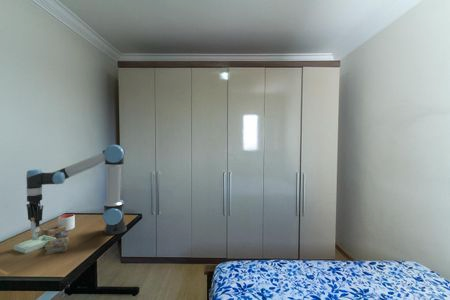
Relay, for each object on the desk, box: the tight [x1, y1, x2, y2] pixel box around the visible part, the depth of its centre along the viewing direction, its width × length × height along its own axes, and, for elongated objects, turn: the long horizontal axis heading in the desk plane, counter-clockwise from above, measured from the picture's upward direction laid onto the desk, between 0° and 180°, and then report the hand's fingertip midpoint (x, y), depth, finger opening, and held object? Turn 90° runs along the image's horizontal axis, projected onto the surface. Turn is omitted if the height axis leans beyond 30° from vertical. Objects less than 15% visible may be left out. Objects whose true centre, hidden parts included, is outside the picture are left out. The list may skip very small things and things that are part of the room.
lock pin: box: [31, 217, 40, 240], centre depth 149 cm, size 4×4×14 cm
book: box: [44, 236, 70, 255], centre depth 147 cm, size 15×11×5 cm
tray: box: [13, 235, 56, 255], centre depth 149 cm, size 12×17×3 cm
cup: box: [58, 213, 76, 232], centre depth 178 cm, size 10×10×10 cm
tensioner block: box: [41, 224, 69, 239], centre depth 166 cm, size 16×10×5 cm, turn 67°
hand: (35, 231), depth 149 cm, fingers closed on lock pin, 2 cm apart
